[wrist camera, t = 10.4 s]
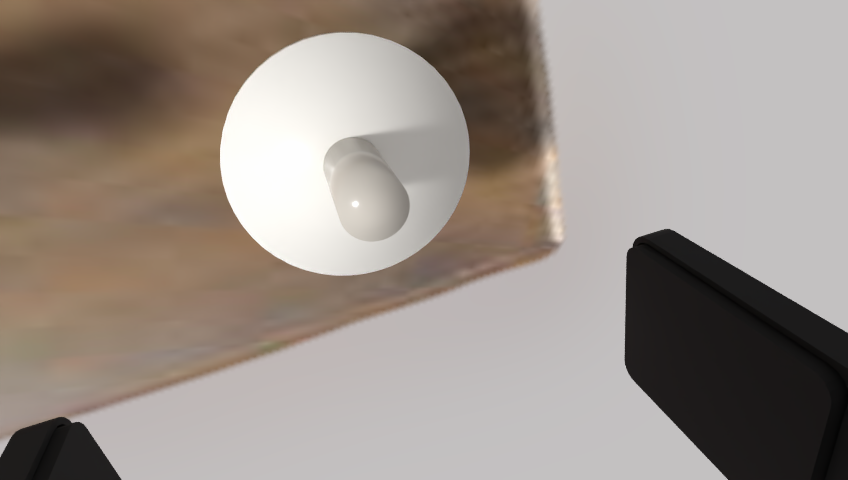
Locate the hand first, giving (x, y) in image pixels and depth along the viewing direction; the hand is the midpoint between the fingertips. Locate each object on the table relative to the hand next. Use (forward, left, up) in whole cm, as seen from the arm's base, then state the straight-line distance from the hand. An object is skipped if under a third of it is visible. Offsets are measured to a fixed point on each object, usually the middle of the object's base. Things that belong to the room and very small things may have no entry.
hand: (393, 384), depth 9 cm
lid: (+1, +1, -16) cm, 16 cm away
